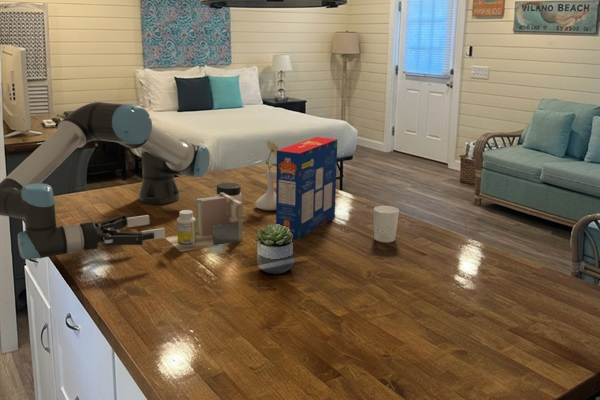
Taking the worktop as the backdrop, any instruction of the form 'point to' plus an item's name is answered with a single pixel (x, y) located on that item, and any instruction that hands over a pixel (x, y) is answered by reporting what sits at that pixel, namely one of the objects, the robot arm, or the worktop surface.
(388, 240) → the white cup
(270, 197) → the flower in vase
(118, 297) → the worktop surface
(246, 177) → the worktop surface
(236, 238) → the bookend
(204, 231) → the books
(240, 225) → the shelf
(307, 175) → the pasta box
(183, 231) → the supplement bottle
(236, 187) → the jar
